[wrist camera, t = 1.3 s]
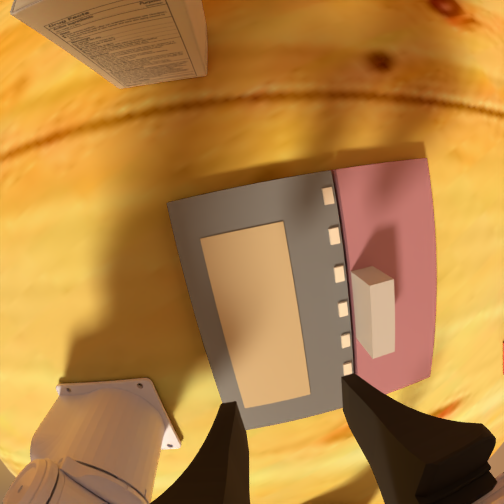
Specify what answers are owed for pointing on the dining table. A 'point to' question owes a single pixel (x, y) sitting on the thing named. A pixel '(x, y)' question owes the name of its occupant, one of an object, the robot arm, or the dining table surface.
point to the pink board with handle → (389, 269)
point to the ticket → (269, 294)
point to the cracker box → (503, 357)
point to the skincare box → (125, 36)
